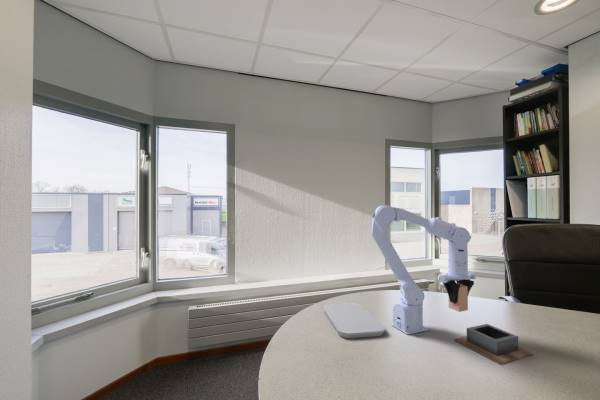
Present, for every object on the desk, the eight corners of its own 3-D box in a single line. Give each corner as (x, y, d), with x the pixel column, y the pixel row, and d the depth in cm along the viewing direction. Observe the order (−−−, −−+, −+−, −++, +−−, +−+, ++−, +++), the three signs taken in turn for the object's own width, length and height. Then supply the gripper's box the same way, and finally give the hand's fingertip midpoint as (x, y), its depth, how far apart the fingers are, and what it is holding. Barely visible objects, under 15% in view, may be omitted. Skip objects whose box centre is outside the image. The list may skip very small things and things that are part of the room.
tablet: (359, 308, 116) (359, 302, 116) (388, 337, 90) (388, 330, 90) (321, 310, 113) (321, 304, 113) (340, 341, 87) (340, 333, 87)
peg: (459, 311, 91) (459, 287, 92) (448, 307, 95) (448, 284, 95) (467, 310, 93) (467, 286, 93) (457, 306, 97) (457, 283, 97)
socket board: (500, 364, 74) (499, 347, 74) (454, 340, 87) (454, 326, 87) (533, 354, 79) (532, 338, 79) (485, 333, 92) (484, 319, 92)
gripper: (452, 265, 88) (453, 308, 88) (484, 262, 93) (484, 302, 93) (434, 261, 94) (434, 301, 94) (464, 258, 100) (465, 296, 99)
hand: (458, 301), depth 94 cm, fingers closed on peg, 4 cm apart
